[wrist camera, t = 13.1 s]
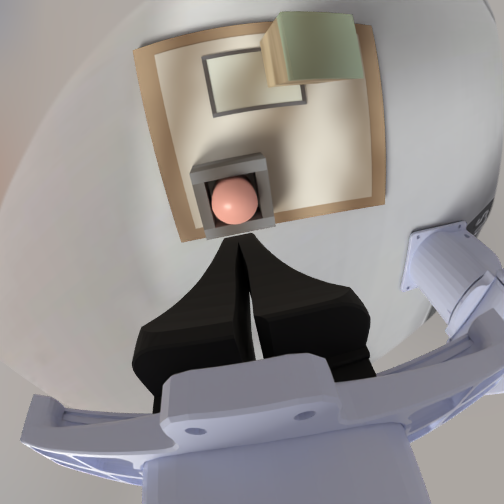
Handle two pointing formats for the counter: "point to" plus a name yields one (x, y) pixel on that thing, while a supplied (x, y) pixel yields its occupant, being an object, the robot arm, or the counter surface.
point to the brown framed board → (259, 131)
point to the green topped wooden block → (311, 49)
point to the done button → (234, 199)
